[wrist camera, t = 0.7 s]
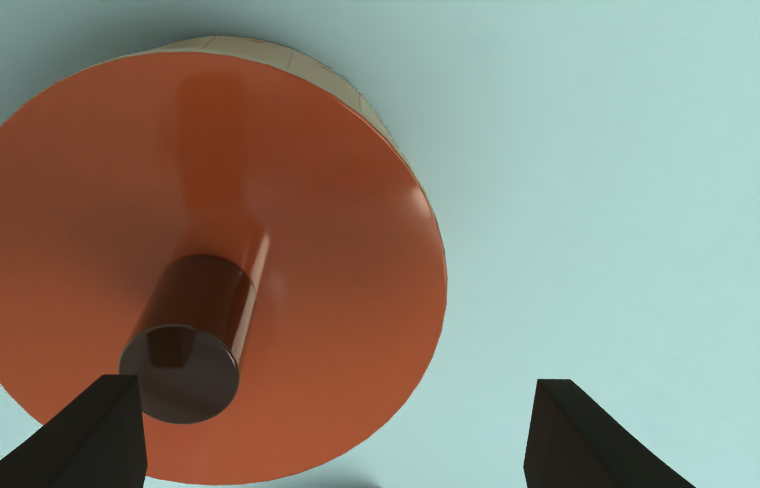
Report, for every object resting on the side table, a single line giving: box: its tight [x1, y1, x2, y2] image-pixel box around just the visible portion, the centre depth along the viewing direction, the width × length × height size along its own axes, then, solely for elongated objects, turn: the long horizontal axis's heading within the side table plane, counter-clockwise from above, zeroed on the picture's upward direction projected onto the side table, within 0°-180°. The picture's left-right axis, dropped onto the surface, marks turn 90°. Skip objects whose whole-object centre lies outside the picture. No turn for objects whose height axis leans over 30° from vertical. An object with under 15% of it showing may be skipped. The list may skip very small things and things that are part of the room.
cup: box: [142, 35, 399, 149], centre depth 20 cm, size 11×11×5 cm
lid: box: [0, 48, 447, 485], centre depth 16 cm, size 12×12×4 cm
